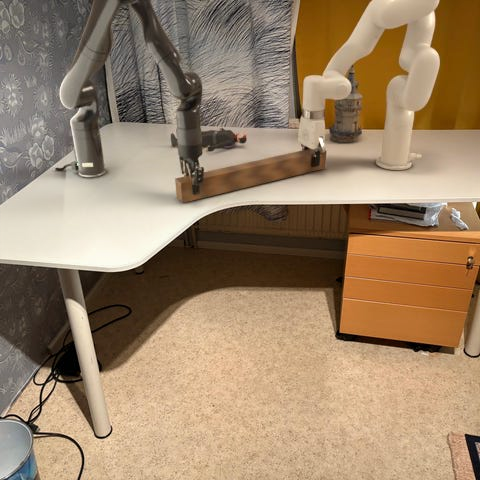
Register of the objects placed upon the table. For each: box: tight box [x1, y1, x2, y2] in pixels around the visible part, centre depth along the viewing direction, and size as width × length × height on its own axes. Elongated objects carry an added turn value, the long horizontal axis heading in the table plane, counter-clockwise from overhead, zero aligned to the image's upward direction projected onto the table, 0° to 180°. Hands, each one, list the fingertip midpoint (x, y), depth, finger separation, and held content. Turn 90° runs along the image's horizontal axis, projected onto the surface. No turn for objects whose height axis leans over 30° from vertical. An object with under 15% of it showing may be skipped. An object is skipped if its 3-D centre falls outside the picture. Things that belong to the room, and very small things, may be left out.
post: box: [174, 149, 327, 204], centre depth 181 cm, size 56×5×7 cm, turn 119°
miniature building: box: [328, 64, 363, 143], centre depth 214 cm, size 13×14×30 cm
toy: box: [170, 127, 248, 153], centre depth 215 cm, size 26×6×30 cm
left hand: (192, 191), depth 172 cm, fingers closed on post, 4 cm apart
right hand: (310, 163), depth 191 cm, fingers closed on post, 4 cm apart
